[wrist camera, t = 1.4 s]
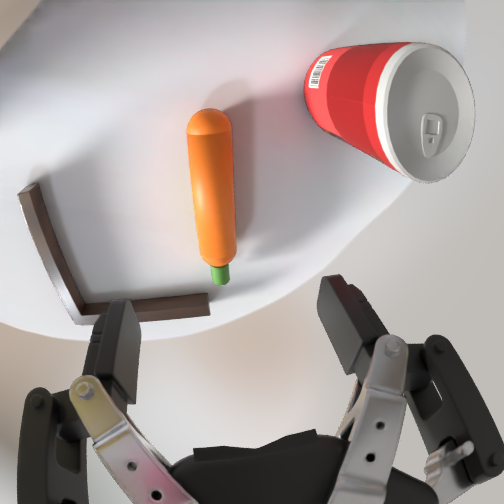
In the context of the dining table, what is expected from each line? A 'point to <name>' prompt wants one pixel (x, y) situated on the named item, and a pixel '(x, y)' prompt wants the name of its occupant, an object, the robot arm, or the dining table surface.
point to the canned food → (395, 105)
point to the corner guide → (66, 285)
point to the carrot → (213, 189)
